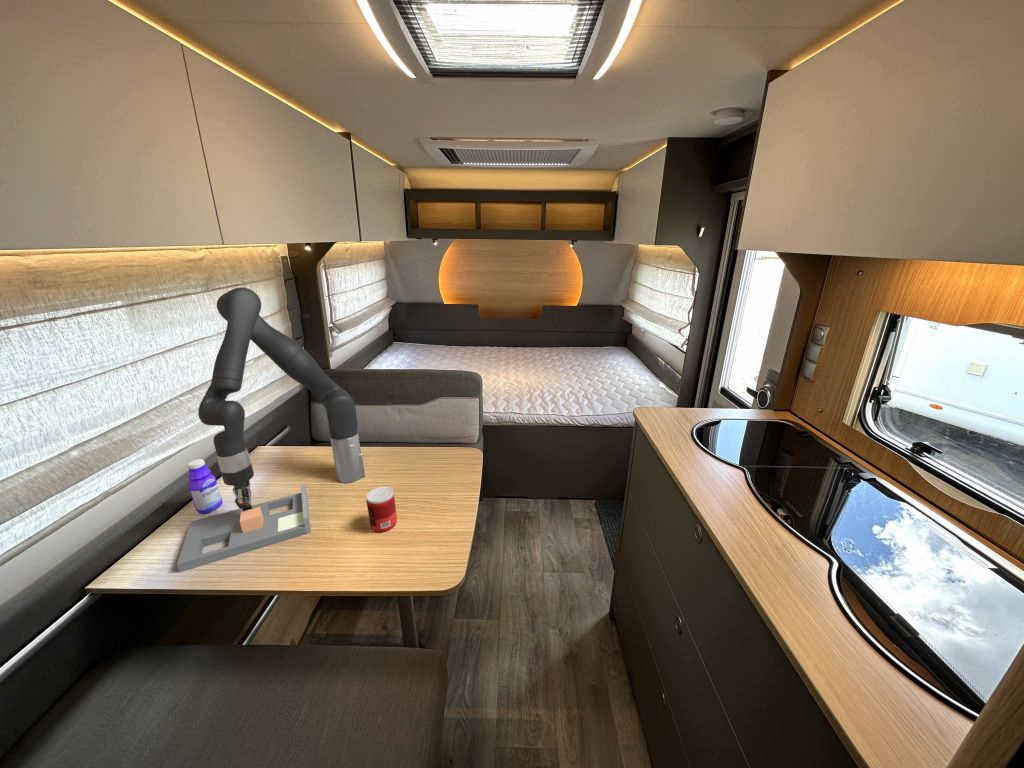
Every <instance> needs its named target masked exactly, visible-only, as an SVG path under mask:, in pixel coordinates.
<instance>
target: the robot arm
mask: <svg viewBox="0 0 1024 768" xmlns="http://www.w3.org/2000/svg"><path fill="white" fill-rule="evenodd" d="M216 309H217V312H218V313H219V315H220V316H221V318H222V319H224V320H225V321H226V322H227V324H226V329H225V332H224V333H225V334H224V337H223V340H222V343H221V344H220V347H219V349H218V352H217V355H216V358H215V361H214V365H213V371H212V376H211V382H210V385H209V387H208V388H207V390H206V391H205V393H204V396H203V398H202V400H201V401H200V403H199V406H198V409H197V410H198V411H197V412H198V418H199V420H200V422H201V423H203V424H204V425H207V426H218V427H219V426H223V428H224V430H222V431H219V432H217V433H216V434H215V435H214V436H213V446H214V448H215V449H214V450H215V453H216V456H217V464H218V468H219V471H220V474H221V475H220V476H221V477H222V482H223V484H224V485H227V486H231V487H233V488H232V493H233V495H234V496H235V499H234V503H235V505H236V506H237V507H238V509H242V510H243V511H246V510H250V509H252V490H251V481H250V480H252V479H253V477H254V476H255V472H254V468H253V465H252V460H251V456H250V453H249V450H248V447H247V445H246V440H245V437H244V433H245V419H246V418H245V417H246V413H245V409H244V406H242V404H241V403H240V402H238V401H236V400H227V398H228V396H229V395H231V394H234V393H237V392H239V391H241V389H242V384H243V379H244V374H245V373H244V372H245V366H246V362H247V356H248V350H249V346H250V342H252V343H254V344H255V345H256V346H257V347H258V348H259V350H261V352H263V353H264V355H266V356H267V357H268V358H269V359H270V361H271V360H272V362H273V363H275V365H277V367H279V369H281V370H282V371H283V372H284V373H285V374H286V375H287V376H288V377H290V378H291V379H293V380H294V381H295V382H297V383H299V384H300V385H301V386H304V387H305V388H306V389H308V390H309V391H310V392H311V393H312V394H313V395H314V396H315V397H316V398H317V400H318V401H320V403H321V404H322V406H323V407H324V409H325V411H326V417H327V423H328V429H329V430H328V432H329V433H328V434H329V438H330V444H331V450H332V456H333V462H334V467H335V474H336V478H337V481H338V482H339V483H342V484H349V483H350V484H351V483H353V482H357V481H358V480H361V479H362V478H365V477H366V473H365V468H364V467H365V466H364V459H363V453H362V450H361V446H360V444H361V443H360V439H359V437H360V436H359V431H358V416H357V409H356V403H355V401H354V399H353V398H352V396H351V395H350V394H349V393H348V392H347V391H346V390H345V389H344V388H342V387H341V386H340V385H338V384H337V383H336V382H335V381H333V380H332V379H331V378H330V377H329V376H328V375H327V374H326V373H325V372H324V370H323V369H322V368H321V367H320V365H319V363H318V362H317V361H316V359H314V357H312V355H311V354H310V353H309V352H307V350H306V349H304V347H303V346H301V344H299V343H298V342H297V341H296V340H294V339H293V338H292V337H290V336H288V335H287V334H285V333H283V332H280V331H279V330H277V329H276V328H275V327H273V326H271V325H270V324H269V323H268V322H267V321H266V320H265V319H264V318H263V317H262V316H261V315H260V313H261V311H262V301H261V298H260V297H259V295H258V294H257V292H255V291H253V290H252V289H251V288H248V287H235V288H233V289H230V290H228V291H227V292H225V293H223V294H221V295H220V296H219V297H218V299H217V300H216Z"/></svg>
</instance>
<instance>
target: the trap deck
mask: <svg viewBox="0 0 1024 768" xmlns="http://www.w3.org/2000/svg"><path fill="white" fill-rule="evenodd" d="M300 491H301V492H300V493H299V492H298V493H296V494H292V495H287V496H284V497H281V498H276V499H272V500H267V501H265V502H261V503H256V504H253V505H252V504H251V505H252V509H254V508H258V507H261V510H262V514H263V527H262V528H259V529H255V530H252V531H248V532H245V533H243V531H242V528H241V524H240V516H241V512H243V510H242V509H240V508H237V509H233V510H229V511H225V512H221V513H218V514H214V515H209V516H206V517H202V518H198V519H194V520H191V522H190V524H189V528H188V531H187V534H186V536H185V540H184V543H183V544H182V549H181V552H180V554H179V558H178V560H177V563H176V567H177V569H178V571H179V573H181V572H185V571H188V570H193V569H196V568H198V567H201V566H205V565H208V564H211V563H215V562H218V561H222V560H225V559H227V558H228V559H229V558H231V557H235V556H238V555H241V554H245V553H249V552H251V551H254V550H259V549H261V548H264V547H268V546H271V545H275V544H278V543H282V542H284V541H288V540H291V539H295V538H297V537H301V536H304V535H307V534H311V533H312V529H311V527H312V526H311V519H310V517H311V516H310V508H309V506H310V505H309V497H308V492H307V487H306V484H305V483H303V484H300ZM283 506H284V507H287V506H292V508H291V509H287V510H285V511H280V512H276V513H273V514H270V511H272V510H271V509H273V510H276V509H275V508H277V509H280V508H283ZM279 507H280V508H279ZM269 510H270V511H269ZM225 541H228V545H227V546H225V547H220V548H217V549H215V550H211V551H207V552H204V547H205V548H206V547H208V546H212V545H215V544H218V543H221V542H225ZM203 552H204V553H203Z"/></svg>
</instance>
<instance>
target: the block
mask: <svg viewBox="0 0 1024 768" xmlns="http://www.w3.org/2000/svg"><path fill="white" fill-rule="evenodd" d="M240 524H241V528H242V531H243V533H245V532H248V531H252V530H255V529H259V528H262V527H263V514H262V510H261V507H258V508H254V509H250V510H246V511H243V512H241V516H240Z"/></svg>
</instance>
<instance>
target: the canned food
mask: <svg viewBox="0 0 1024 768" xmlns="http://www.w3.org/2000/svg"><path fill="white" fill-rule="evenodd" d="M394 492H395V491H394V489H393V488H391V487H389V486H380V487H379V486H378V487H376V488H374V489H373V488H372V490H370V491H369V492H368V493H366V496H365V500H366V506H367V507H366V508H367V513H368V519H369V526H370V529H371V530H372V531H373V532H375V533H379V534H380V533H386V532H388V531H390V530H392V529H394V527H396V525H397V523H398V516H397V510H396V509H397V508H396V499H395V493H394Z"/></svg>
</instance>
